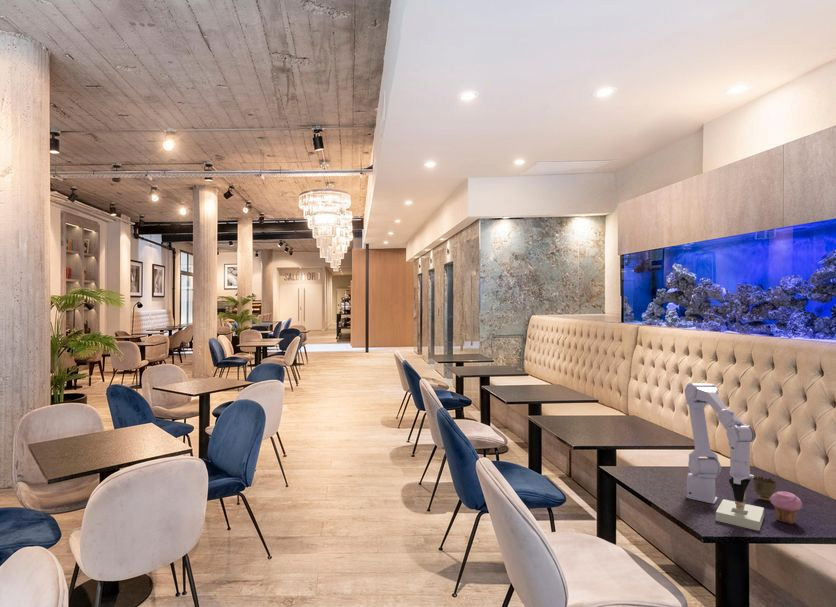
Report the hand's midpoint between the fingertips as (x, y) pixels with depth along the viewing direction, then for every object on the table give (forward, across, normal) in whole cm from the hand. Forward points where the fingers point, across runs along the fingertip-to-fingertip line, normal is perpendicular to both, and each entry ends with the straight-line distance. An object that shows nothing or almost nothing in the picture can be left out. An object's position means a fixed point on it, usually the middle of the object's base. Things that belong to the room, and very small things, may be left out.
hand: (739, 500), depth 175 cm
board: (+7, +2, 0) cm, 7 cm away
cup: (+7, +30, -5) cm, 31 cm away
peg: (+3, 0, 0) cm, 3 cm away
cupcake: (+7, +10, -12) cm, 18 cm away
